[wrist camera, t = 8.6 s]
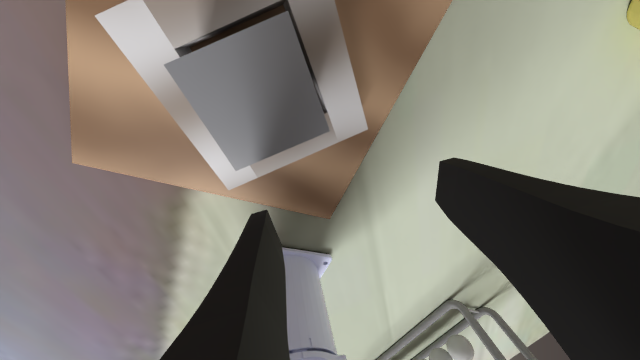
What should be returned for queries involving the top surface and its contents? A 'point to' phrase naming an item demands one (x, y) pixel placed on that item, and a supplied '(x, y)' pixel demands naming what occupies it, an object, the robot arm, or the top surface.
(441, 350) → the newton's cradle
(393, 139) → the top surface
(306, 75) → the grey rectangular block
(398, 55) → the duct base
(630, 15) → the plastic component
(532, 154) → the top surface
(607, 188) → the top surface
